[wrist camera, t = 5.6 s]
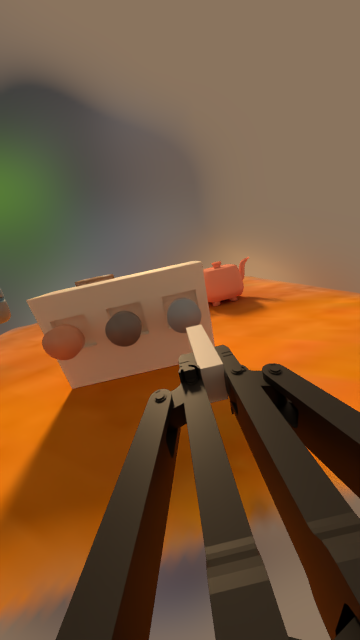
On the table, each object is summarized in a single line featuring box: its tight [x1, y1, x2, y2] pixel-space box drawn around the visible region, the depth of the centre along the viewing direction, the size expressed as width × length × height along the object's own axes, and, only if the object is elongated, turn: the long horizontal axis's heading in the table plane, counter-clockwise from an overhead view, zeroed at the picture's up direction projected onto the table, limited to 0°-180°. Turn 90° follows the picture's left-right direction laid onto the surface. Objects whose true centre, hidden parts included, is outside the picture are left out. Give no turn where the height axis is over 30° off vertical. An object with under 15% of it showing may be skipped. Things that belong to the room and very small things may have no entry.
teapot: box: [203, 257, 249, 306], centre depth 56 cm, size 20×12×12 cm, turn 103°
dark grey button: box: [167, 298, 201, 333], centre depth 24 cm, size 4×2×4 cm, turn 95°
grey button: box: [105, 311, 142, 347], centre depth 24 cm, size 4×2×4 cm, turn 95°
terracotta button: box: [42, 324, 85, 360], centre depth 23 cm, size 4×2×4 cm, turn 95°
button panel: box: [26, 261, 215, 389], centre depth 29 cm, size 24×6×15 cm, turn 95°
